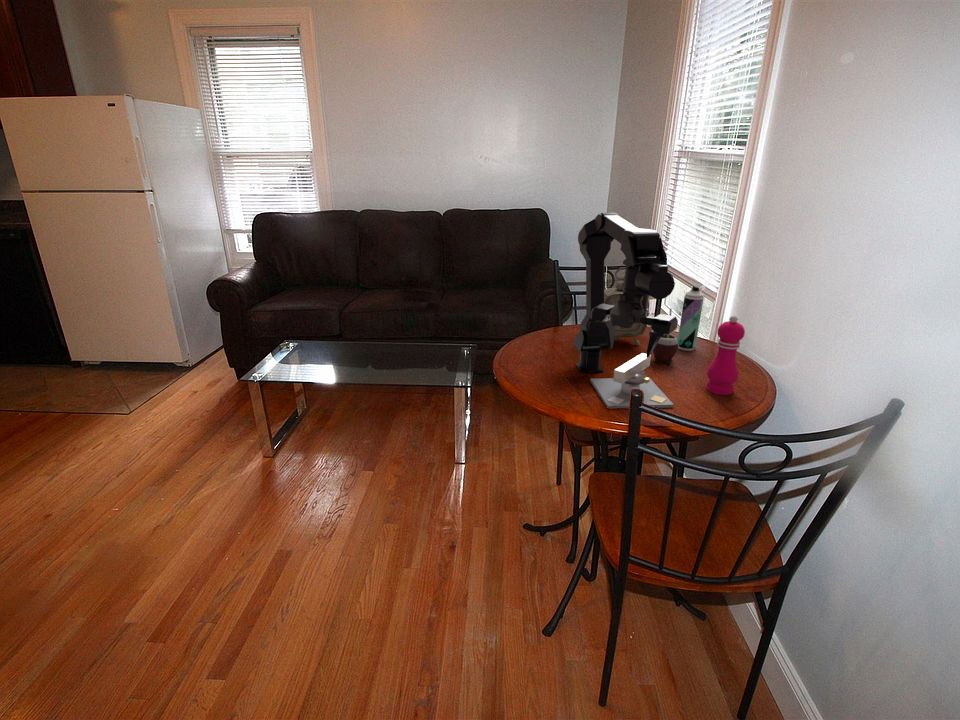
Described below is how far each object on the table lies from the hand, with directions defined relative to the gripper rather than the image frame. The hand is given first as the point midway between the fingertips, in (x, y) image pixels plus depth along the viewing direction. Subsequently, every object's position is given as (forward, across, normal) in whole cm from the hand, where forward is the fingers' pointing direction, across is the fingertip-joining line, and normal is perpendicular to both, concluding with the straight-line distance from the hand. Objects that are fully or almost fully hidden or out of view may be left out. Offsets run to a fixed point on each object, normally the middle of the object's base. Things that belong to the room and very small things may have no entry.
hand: (628, 352), depth 115 cm
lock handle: (+9, 0, +5) cm, 10 cm away
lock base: (+13, 0, +5) cm, 14 cm away
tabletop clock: (+13, -19, +40) cm, 46 cm away
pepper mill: (+13, +17, +22) cm, 31 cm away
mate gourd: (+13, -2, +32) cm, 35 cm away
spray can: (+13, 0, +48) cm, 50 cm away
